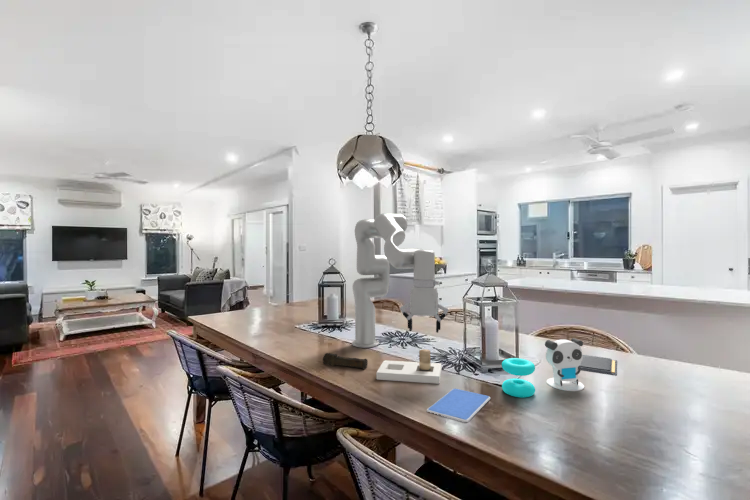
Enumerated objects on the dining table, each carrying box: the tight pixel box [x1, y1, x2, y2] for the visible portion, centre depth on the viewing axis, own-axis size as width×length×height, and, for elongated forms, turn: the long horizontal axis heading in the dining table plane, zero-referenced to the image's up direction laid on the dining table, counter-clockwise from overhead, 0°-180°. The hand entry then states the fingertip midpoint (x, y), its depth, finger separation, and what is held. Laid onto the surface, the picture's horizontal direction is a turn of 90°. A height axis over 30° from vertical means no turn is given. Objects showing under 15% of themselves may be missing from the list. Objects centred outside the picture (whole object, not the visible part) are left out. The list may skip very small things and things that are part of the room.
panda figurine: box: [544, 337, 585, 392], centre depth 128 cm, size 12×11×15 cm
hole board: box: [376, 360, 442, 385], centre depth 139 cm, size 14×22×2 cm, turn 77°
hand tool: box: [322, 352, 369, 371], centre depth 150 cm, size 19×4×5 cm, turn 66°
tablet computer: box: [426, 388, 491, 423], centre depth 113 cm, size 19×13×1 cm, turn 144°
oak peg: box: [418, 348, 432, 372], centre depth 138 cm, size 4×4×9 cm
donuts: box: [501, 357, 536, 399], centre depth 122 cm, size 10×10×10 cm
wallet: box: [578, 354, 618, 377], centre depth 148 cm, size 20×2×15 cm
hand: (424, 331), depth 138 cm, fingers open, 9 cm apart
